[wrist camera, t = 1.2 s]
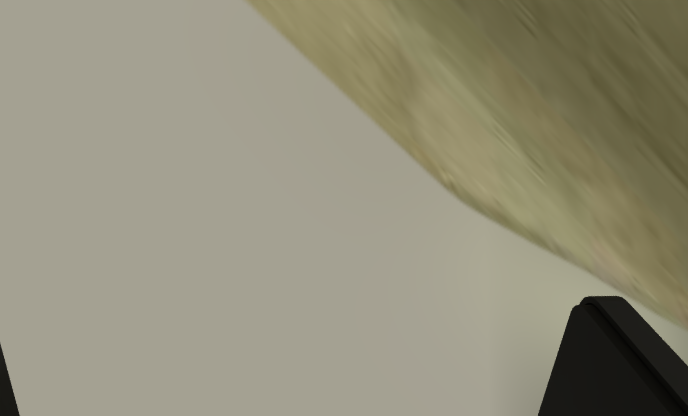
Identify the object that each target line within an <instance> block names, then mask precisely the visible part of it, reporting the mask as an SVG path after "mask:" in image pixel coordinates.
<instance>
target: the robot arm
mask: <svg viewBox="0 0 688 416" xmlns="http://www.w3.org/2000/svg"><path fill="white" fill-rule="evenodd" d="M0 416H20V415H19V412H18V408H17V404H16V400H15V397H14V393H13V389H12V386H11V382H10V378H9V374H8V371H7V367H6V363H5V359H4V356H3V352H2V348H1V345H0ZM538 416H688V366H687V365H686V364H685V363H684V361H682V360H681V358H680V357H679V356H678V355H677V354H676V353H675V352H674V351H673V350H672V349H671V348H670V347H669V345H667V343H666V342H665V341H664V340H662V338H661V337H660V336H659V335H658V334H657V333H656V332H655V331H654V329H653V328H652V327H651V326H650V325H649V324H648V323H647V322H646V321H645V320H644V319H643V318H642V317H641V316H640V315H639V314H638V312H637V311H636V310H635V309H634V308H633V307H632V306H631V305H630V304H629V303H628V302H627V301H626V300H625V299H624V298H622V297H619V296H589V297H585V298H584V299H583V300H582V301H581V302H580V305H576V306H575V307H574V308H573V309H572V311H571V313H570V316H569V320H568V323H567V326H566V329H565V332H564V335H563V338H562V341H561V344H560V348H559V351H558V354H557V357H556V360H555V363H554V366H553V369H552V373H551V376H550V379H549V382H548V385H547V388H546V391H545V395H544V398H543V401H542V404H541V407H540V410H539V413H538Z"/></svg>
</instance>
